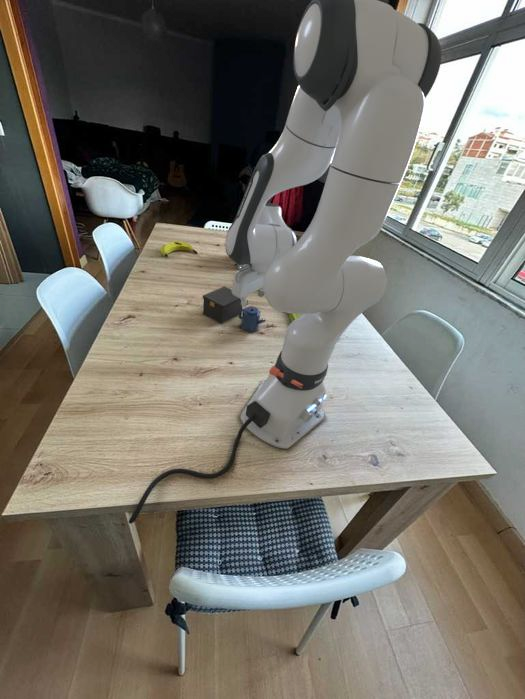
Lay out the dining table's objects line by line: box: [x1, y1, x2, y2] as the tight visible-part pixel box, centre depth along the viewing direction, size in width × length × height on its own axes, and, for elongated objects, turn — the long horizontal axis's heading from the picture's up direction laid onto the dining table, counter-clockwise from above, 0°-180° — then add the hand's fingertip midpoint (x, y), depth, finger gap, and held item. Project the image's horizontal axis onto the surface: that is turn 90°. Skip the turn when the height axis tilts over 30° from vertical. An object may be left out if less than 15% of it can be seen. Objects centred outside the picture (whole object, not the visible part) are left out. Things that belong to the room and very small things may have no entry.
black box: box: [202, 286, 243, 324], centre depth 105 cm, size 12×10×7 cm
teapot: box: [238, 305, 267, 333], centre depth 100 cm, size 11×6×8 cm, turn 55°
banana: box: [160, 240, 198, 258], centre depth 146 cm, size 5×17×15 cm
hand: (252, 300), depth 97 cm, fingers open, 8 cm apart
